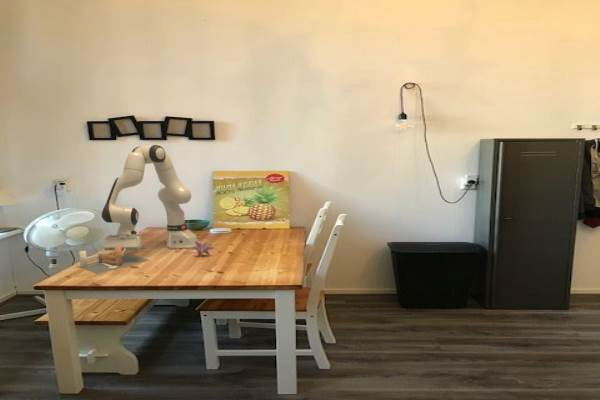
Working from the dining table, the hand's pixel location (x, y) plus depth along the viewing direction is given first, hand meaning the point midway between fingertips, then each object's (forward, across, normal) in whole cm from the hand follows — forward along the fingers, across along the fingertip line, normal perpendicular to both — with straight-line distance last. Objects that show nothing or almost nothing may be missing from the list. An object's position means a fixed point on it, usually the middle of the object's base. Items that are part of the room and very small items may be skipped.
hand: (119, 256), depth 210 cm
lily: (-5, +44, +11) cm, 45 cm away
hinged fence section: (+3, -4, +3) cm, 6 cm away
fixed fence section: (+3, -15, +3) cm, 16 cm away
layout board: (+2, -3, +4) cm, 6 cm away
